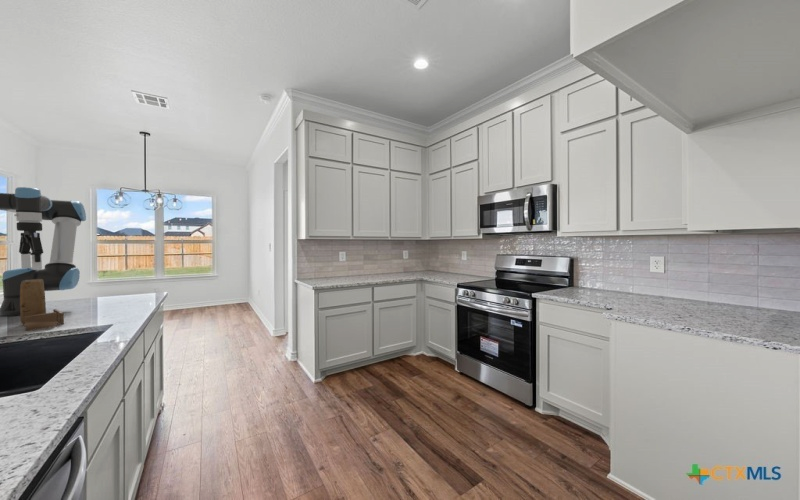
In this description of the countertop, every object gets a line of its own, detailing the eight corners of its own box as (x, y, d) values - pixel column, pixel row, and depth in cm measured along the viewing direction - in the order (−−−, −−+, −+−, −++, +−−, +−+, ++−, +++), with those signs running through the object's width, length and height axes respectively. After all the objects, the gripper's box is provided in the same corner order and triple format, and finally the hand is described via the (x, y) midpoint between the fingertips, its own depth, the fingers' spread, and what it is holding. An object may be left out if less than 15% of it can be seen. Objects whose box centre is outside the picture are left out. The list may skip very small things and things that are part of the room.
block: (45, 323, 143) (43, 280, 142) (19, 326, 138) (17, 281, 137) (47, 319, 151) (45, 277, 150) (23, 322, 145) (21, 279, 145)
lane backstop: (25, 330, 133) (24, 316, 132) (56, 325, 140) (55, 312, 140) (25, 330, 132) (25, 316, 132) (57, 325, 139) (56, 312, 139)
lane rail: (53, 319, 149) (53, 309, 149) (56, 319, 150) (55, 309, 150) (61, 324, 142) (60, 313, 142) (63, 323, 142) (63, 313, 142)
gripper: (7, 222, 144) (9, 268, 145) (26, 221, 133) (29, 270, 134) (31, 223, 151) (33, 266, 152) (52, 221, 140) (54, 269, 141)
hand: (31, 268), depth 143 cm, fingers open, 13 cm apart
